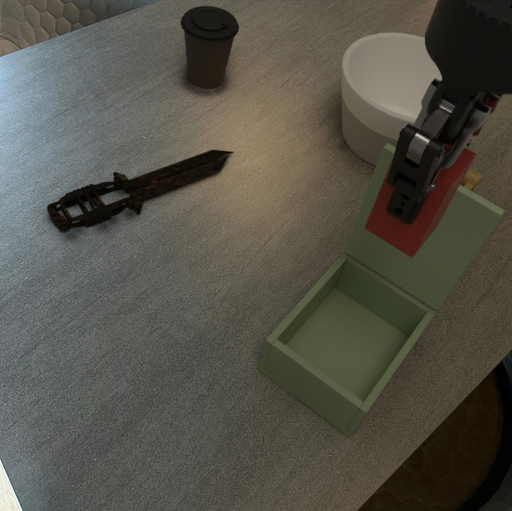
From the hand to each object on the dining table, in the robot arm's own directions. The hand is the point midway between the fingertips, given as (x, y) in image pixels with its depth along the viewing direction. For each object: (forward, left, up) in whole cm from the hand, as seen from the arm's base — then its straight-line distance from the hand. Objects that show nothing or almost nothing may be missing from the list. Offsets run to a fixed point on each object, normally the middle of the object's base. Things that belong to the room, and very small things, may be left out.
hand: (415, 197), depth 47 cm
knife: (+32, -5, -26) cm, 41 cm away
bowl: (+13, -36, -26) cm, 46 cm away
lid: (0, -7, -11) cm, 13 cm away
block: (0, 0, -3) cm, 3 cm away
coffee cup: (+40, -27, -26) cm, 55 cm away
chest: (0, -1, -26) cm, 26 cm away
